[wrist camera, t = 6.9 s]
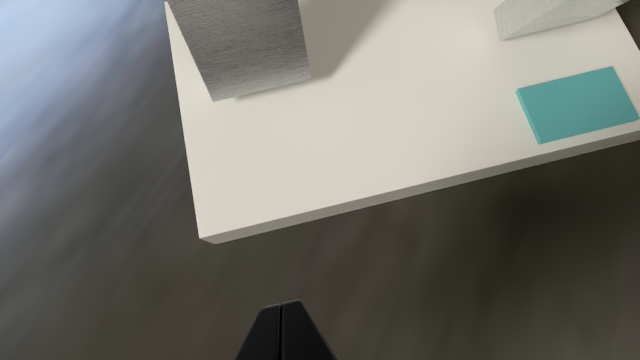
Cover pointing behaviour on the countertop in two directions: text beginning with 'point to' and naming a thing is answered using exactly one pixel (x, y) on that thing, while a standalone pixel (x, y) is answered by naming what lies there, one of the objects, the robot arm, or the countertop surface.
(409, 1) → the switch panel
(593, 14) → the right lever
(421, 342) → the countertop surface
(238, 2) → the left lever
